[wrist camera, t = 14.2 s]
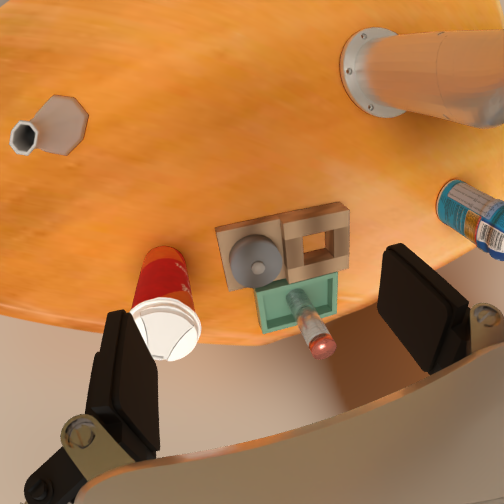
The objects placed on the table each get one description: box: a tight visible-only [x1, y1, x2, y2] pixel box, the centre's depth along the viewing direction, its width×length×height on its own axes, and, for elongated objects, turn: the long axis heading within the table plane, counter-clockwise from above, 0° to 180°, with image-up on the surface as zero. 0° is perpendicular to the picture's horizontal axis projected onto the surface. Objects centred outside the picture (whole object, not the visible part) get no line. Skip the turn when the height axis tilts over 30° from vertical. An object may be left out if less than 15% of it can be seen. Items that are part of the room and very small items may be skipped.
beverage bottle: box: [436, 180, 504, 261], centre depth 38 cm, size 8×8×20 cm
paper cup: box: [130, 246, 201, 361], centre depth 35 cm, size 8×8×14 cm
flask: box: [9, 95, 89, 156], centre depth 25 cm, size 7×7×10 cm
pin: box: [286, 288, 336, 359], centre depth 42 cm, size 3×3×12 cm
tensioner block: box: [215, 202, 350, 292], centre depth 41 cm, size 17×9×4 cm, turn 98°
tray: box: [253, 272, 338, 334], centre depth 47 cm, size 12×8×2 cm, turn 98°
